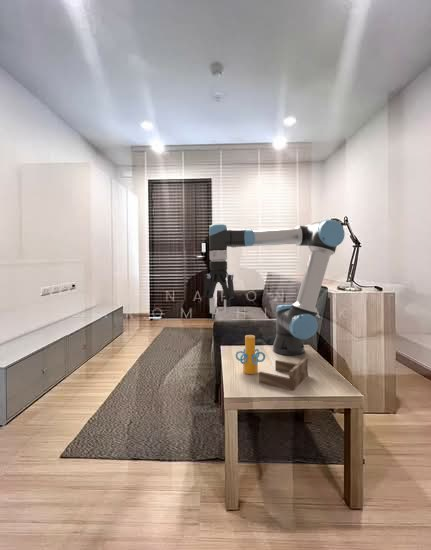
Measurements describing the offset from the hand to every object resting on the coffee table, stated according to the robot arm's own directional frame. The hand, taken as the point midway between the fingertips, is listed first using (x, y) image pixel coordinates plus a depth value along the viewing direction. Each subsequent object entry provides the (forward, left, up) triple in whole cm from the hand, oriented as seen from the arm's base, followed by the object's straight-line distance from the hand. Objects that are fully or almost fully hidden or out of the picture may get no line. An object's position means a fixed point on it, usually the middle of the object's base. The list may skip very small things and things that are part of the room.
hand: (219, 313), depth 138 cm
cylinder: (-10, +11, -23) cm, 28 cm away
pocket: (-19, +23, -23) cm, 38 cm away
